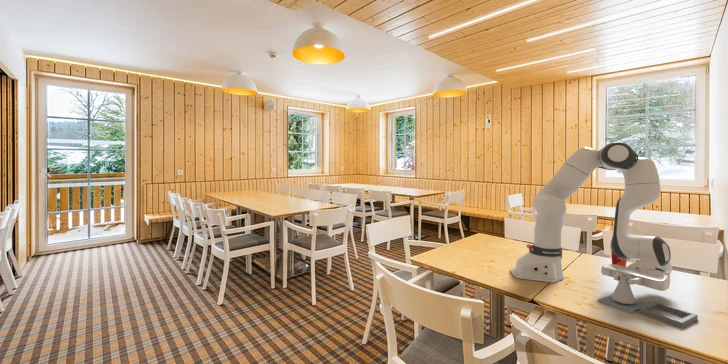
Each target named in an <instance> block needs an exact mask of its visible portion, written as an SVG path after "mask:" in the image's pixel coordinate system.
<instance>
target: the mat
mask: <svg viewBox="0 0 728 364" xmlns="http://www.w3.org/2000/svg"><path fill="white" fill-rule="evenodd" d="M611 296H612V294H610V295H608V296H605V297H602V298H599V299H597V302H599V303H601V304H604V305H607V306H610V307H612V308H614V309H615V308H616V309H618V310H621V311H624V312H627V313H629V314H633V313H635V312H637V311H640V308H642V307H644V306H647V305H648V304H646V303H643V302H639V301H636V303H635V304H622V303H620V302H617V301H614V300H613V299H612V298H611Z"/></svg>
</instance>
